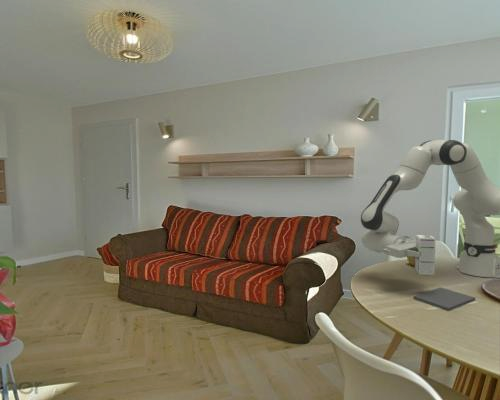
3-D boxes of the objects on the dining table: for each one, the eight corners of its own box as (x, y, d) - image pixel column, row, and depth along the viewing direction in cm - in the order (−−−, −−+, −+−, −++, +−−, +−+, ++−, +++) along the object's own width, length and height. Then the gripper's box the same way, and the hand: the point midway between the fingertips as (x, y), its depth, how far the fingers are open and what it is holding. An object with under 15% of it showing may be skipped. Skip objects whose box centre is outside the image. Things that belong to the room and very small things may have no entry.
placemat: (440, 289, 135) (440, 287, 135) (475, 300, 124) (475, 297, 124) (413, 298, 126) (413, 296, 126) (448, 310, 115) (448, 308, 115)
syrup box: (434, 275, 127) (436, 237, 125) (418, 274, 128) (419, 237, 127) (430, 271, 132) (431, 235, 131) (413, 270, 133) (415, 234, 132)
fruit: (429, 269, 162) (430, 249, 161) (405, 266, 168) (405, 247, 167) (430, 264, 171) (431, 245, 170) (407, 261, 177) (408, 243, 176)
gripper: (379, 241, 135) (410, 248, 123) (410, 236, 145) (442, 241, 133) (379, 257, 136) (410, 265, 124) (410, 250, 146) (441, 257, 134)
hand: (427, 252), depth 129 cm, fingers closed on syrup box, 8 cm apart
